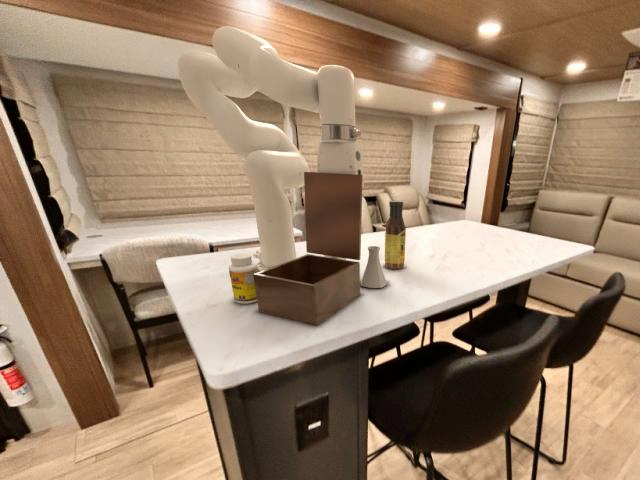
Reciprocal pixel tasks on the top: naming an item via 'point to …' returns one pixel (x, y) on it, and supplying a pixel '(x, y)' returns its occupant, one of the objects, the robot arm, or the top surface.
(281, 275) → the brown wooden box
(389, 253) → the sauce bottle
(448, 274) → the top surface
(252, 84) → the robot arm
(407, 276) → the top surface
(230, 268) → the supplement bottle
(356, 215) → the lid
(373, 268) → the flask
